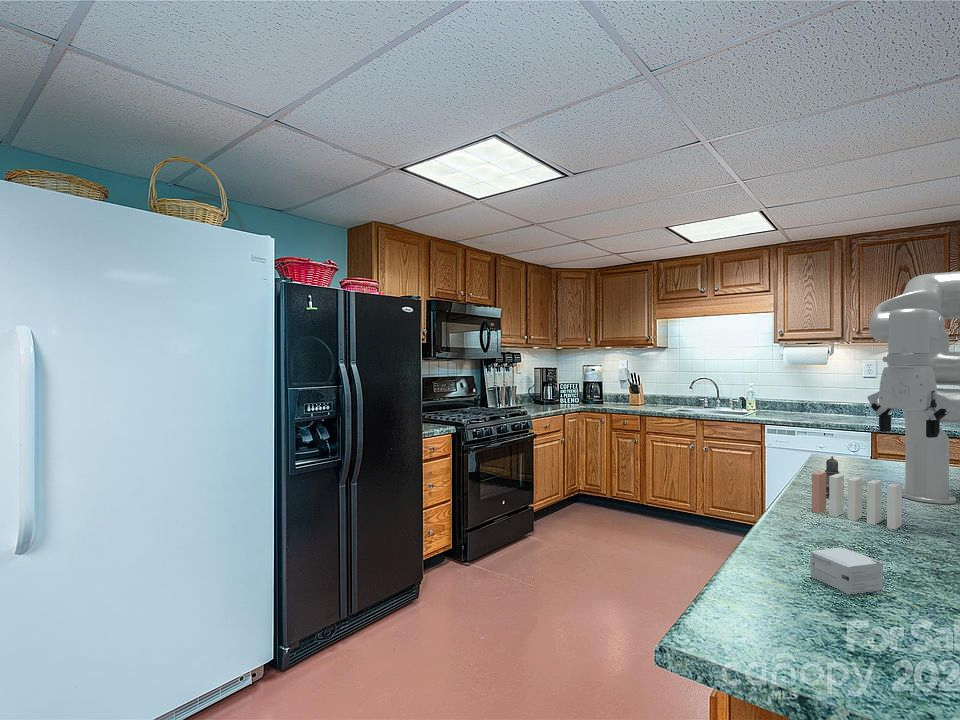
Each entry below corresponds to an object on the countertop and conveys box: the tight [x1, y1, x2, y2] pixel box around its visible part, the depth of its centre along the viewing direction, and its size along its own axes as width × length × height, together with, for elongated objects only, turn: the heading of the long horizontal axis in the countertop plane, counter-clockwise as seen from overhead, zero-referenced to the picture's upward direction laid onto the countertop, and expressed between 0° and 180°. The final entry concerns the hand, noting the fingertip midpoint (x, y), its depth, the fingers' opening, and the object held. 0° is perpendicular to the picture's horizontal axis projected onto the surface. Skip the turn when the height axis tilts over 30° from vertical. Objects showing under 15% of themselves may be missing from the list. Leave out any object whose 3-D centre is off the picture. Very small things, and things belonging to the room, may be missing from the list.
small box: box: [810, 547, 884, 596], centre depth 93 cm, size 8×8×5 cm
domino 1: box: [828, 473, 845, 518], centre depth 134 cm, size 5×2×10 cm, turn 127°
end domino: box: [811, 470, 827, 514], centre depth 137 cm, size 5×2×10 cm, turn 127°
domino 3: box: [866, 479, 883, 526], centre depth 127 cm, size 5×2×10 cm, turn 127°
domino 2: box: [847, 476, 863, 522], centre depth 131 cm, size 5×2×10 cm, turn 128°
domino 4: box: [886, 482, 903, 530], centre depth 124 cm, size 5×2×10 cm, turn 127°
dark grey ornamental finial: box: [824, 455, 841, 499], centre depth 150 cm, size 6×6×12 cm
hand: (907, 434), depth 122 cm, fingers open, 9 cm apart
